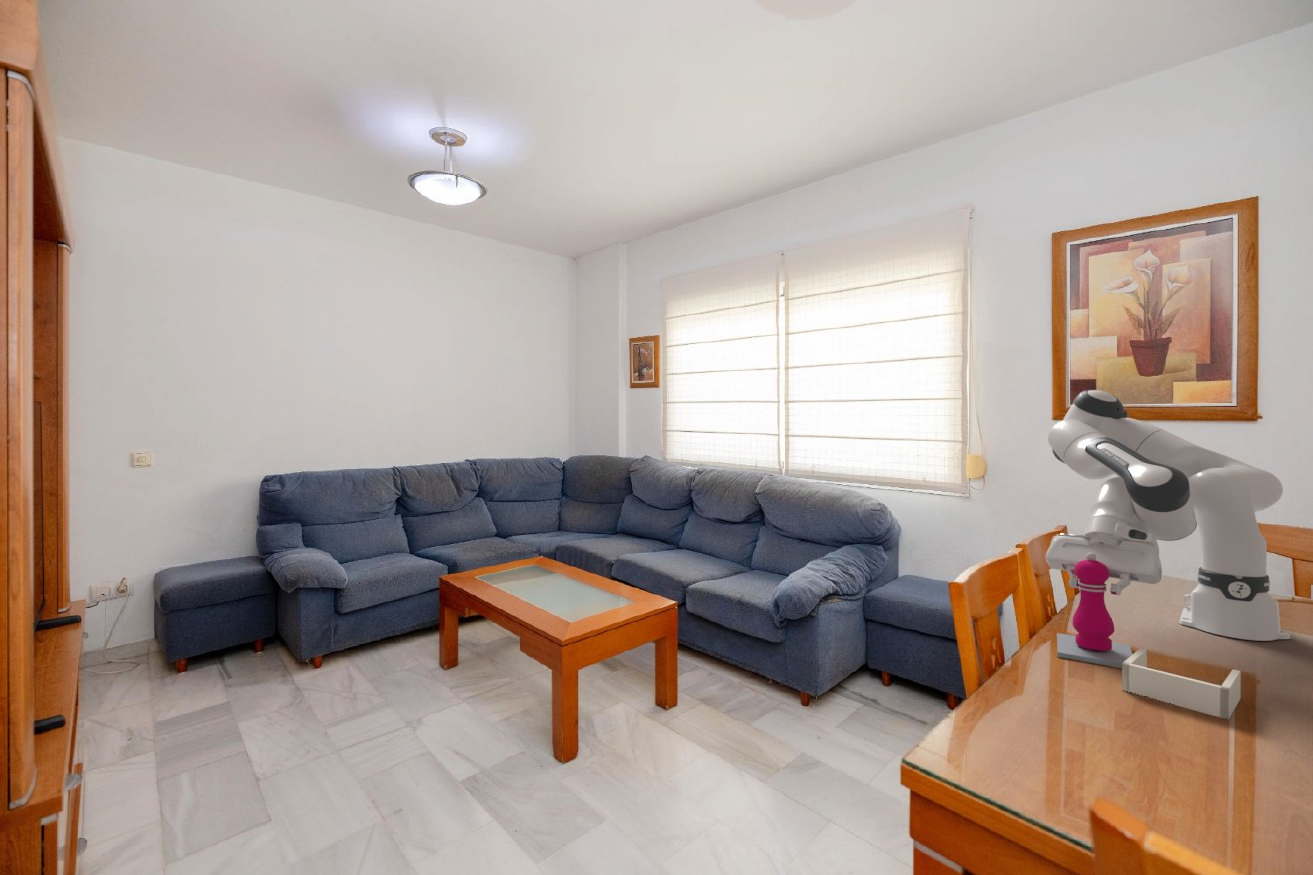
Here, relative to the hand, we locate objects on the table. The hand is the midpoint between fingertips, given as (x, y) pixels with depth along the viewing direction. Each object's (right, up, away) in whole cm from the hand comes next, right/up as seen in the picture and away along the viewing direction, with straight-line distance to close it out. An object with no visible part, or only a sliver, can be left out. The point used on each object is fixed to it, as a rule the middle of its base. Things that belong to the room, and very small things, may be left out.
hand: (1093, 589), depth 124 cm
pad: (0, -14, 0) cm, 14 cm away
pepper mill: (0, -12, +1) cm, 12 cm away
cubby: (+2, -14, -19) cm, 23 cm away
